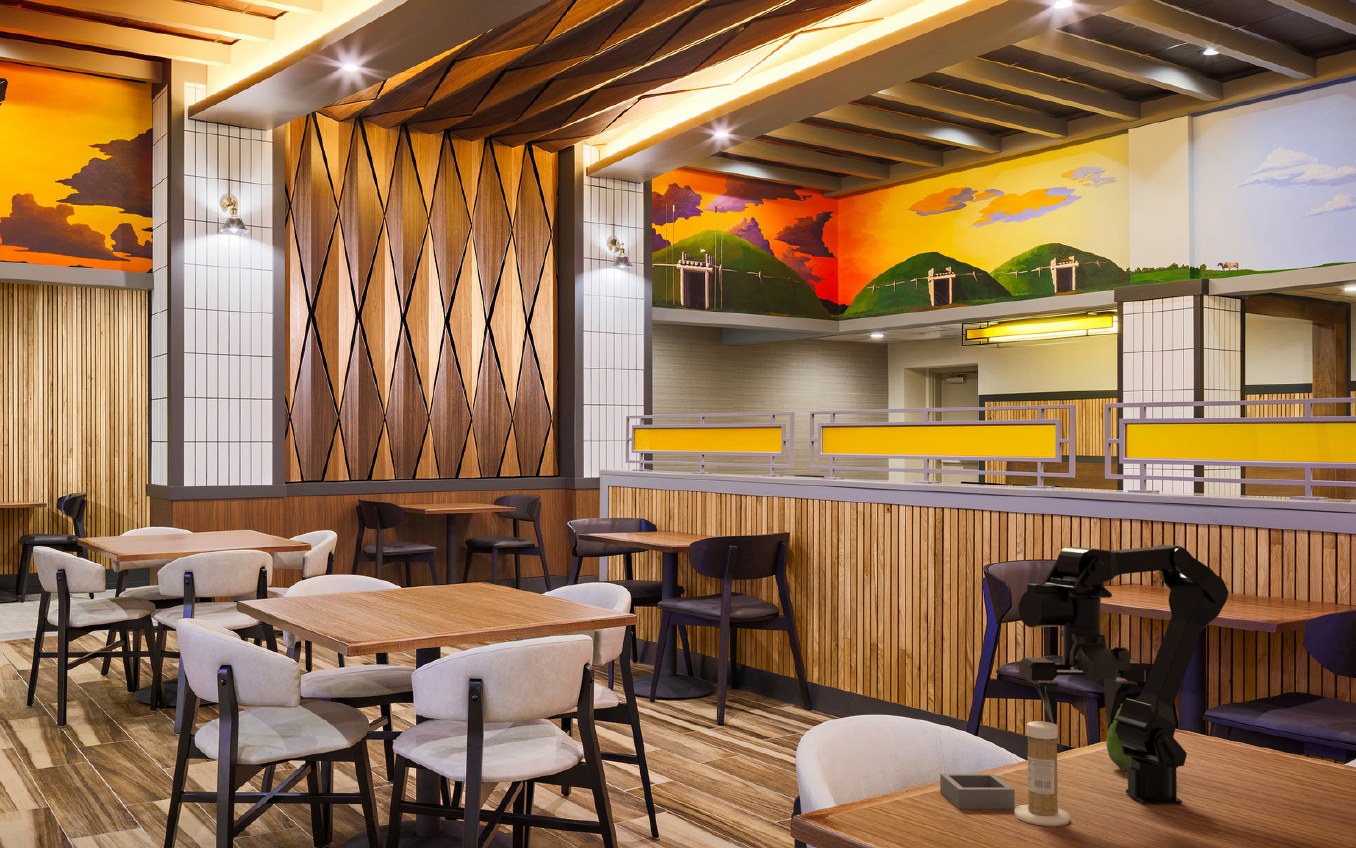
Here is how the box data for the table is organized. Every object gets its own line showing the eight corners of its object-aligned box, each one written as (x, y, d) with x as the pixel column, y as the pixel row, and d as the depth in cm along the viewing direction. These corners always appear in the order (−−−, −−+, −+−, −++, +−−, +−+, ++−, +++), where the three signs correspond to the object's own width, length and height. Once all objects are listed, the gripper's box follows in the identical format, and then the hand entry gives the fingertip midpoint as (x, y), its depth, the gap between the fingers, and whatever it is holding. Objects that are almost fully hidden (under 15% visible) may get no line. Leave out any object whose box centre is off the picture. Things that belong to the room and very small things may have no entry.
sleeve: (993, 792, 175) (993, 773, 175) (1014, 808, 166) (1014, 789, 166) (940, 792, 174) (940, 773, 174) (958, 809, 165) (958, 789, 165)
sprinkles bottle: (1062, 811, 162) (1061, 723, 163) (1052, 818, 159) (1052, 728, 159) (1032, 805, 165) (1032, 719, 166) (1022, 812, 161) (1022, 723, 162)
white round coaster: (1055, 809, 166) (1055, 804, 166) (1078, 826, 158) (1078, 820, 158) (1006, 809, 165) (1006, 804, 165) (1027, 826, 157) (1027, 820, 157)
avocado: (1135, 779, 185) (1135, 709, 185) (1097, 768, 192) (1097, 701, 192) (1164, 773, 189) (1163, 705, 189) (1126, 763, 195) (1125, 697, 196)
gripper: (1046, 632, 161) (1046, 736, 160) (1164, 633, 162) (1164, 736, 161) (1017, 622, 172) (1017, 719, 171) (1128, 623, 173) (1128, 720, 172)
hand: (1081, 724), depth 169 cm, fingers open, 9 cm apart
